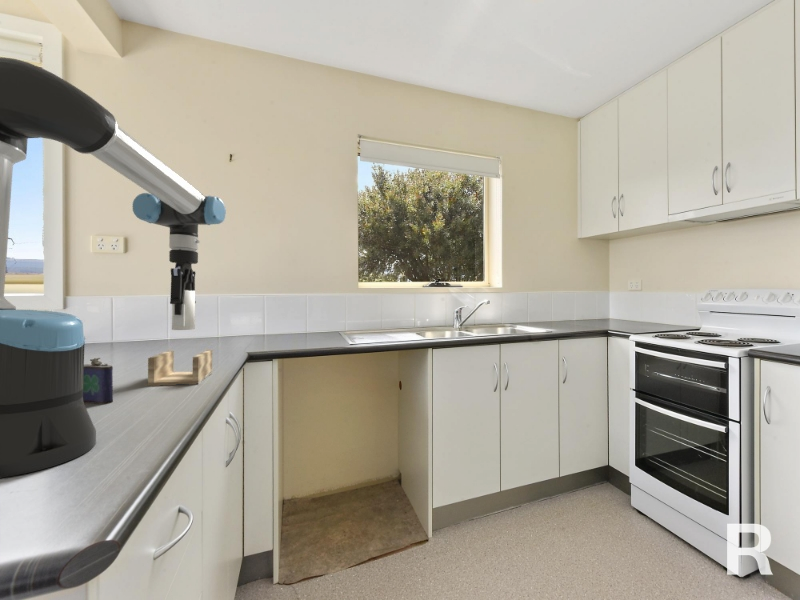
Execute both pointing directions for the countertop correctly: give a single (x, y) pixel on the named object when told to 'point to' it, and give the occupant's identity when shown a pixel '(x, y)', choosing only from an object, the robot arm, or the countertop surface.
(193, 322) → the roll
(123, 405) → the countertop surface
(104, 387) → the flask
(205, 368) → the holder
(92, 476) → the countertop surface
